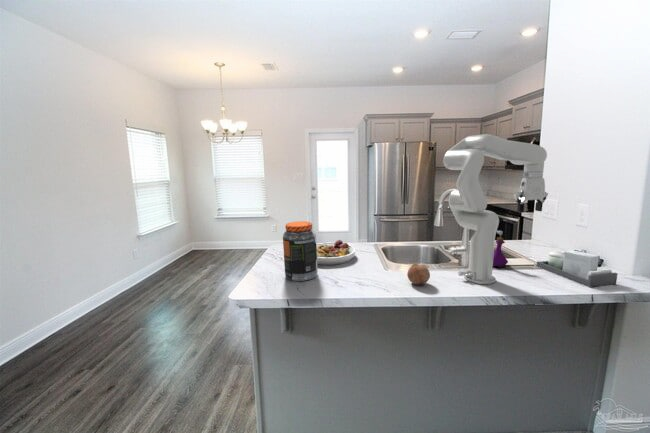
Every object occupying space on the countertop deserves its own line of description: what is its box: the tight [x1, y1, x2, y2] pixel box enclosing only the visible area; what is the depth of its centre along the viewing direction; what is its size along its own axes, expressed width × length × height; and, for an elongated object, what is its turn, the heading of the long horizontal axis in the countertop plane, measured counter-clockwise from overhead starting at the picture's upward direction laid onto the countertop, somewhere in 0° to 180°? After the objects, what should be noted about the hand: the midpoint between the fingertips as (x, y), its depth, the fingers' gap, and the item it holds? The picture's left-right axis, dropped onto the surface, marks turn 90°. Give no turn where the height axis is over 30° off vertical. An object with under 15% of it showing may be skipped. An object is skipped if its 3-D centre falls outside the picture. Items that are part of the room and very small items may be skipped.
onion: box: [406, 263, 431, 287], centre depth 130 cm, size 10×9×10 cm
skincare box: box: [562, 249, 600, 279], centre depth 133 cm, size 10×6×10 cm, turn 25°
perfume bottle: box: [493, 230, 509, 268], centre depth 150 cm, size 8×8×18 cm
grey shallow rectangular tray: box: [535, 260, 618, 288], centre depth 136 cm, size 13×26×5 cm, turn 9°
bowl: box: [316, 239, 356, 266], centre depth 170 cm, size 30×30×8 cm
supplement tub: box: [282, 220, 318, 282], centre depth 142 cm, size 16×16×26 cm
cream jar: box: [547, 250, 564, 270], centre depth 144 cm, size 7×7×7 cm
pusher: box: [587, 269, 613, 280], centre depth 125 cm, size 10×1×5 cm, turn 99°
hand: (529, 211), depth 142 cm, fingers open, 9 cm apart
